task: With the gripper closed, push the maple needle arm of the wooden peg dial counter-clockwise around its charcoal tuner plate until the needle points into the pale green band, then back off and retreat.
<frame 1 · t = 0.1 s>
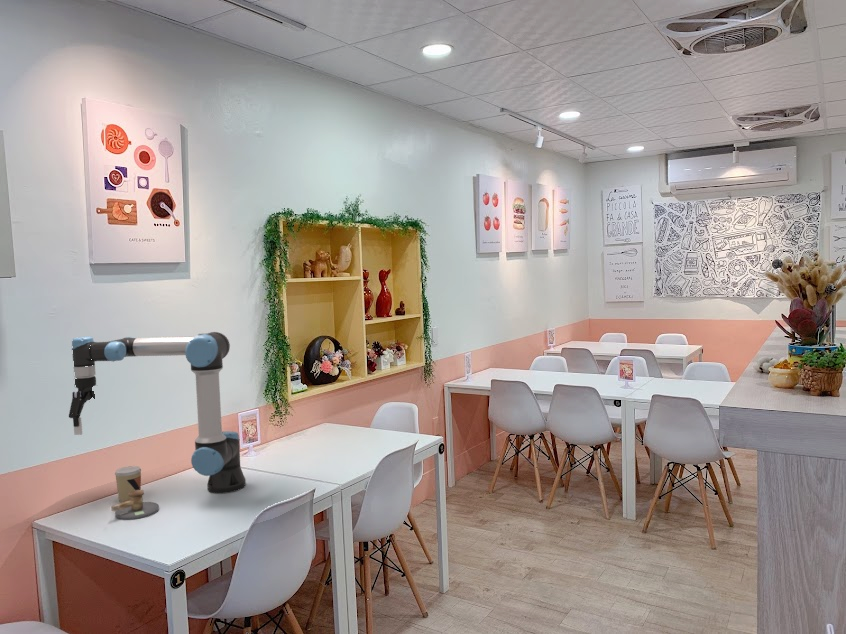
hand: (88, 430, 255), 28 cm above the table, fingers open, 13 cm apart
peg dial: (128, 503, 239), point 4 cm above the table, hinge at 58.0°
tuner plate: (137, 512, 242), on the table
coffee cup: (129, 499, 256), on the table
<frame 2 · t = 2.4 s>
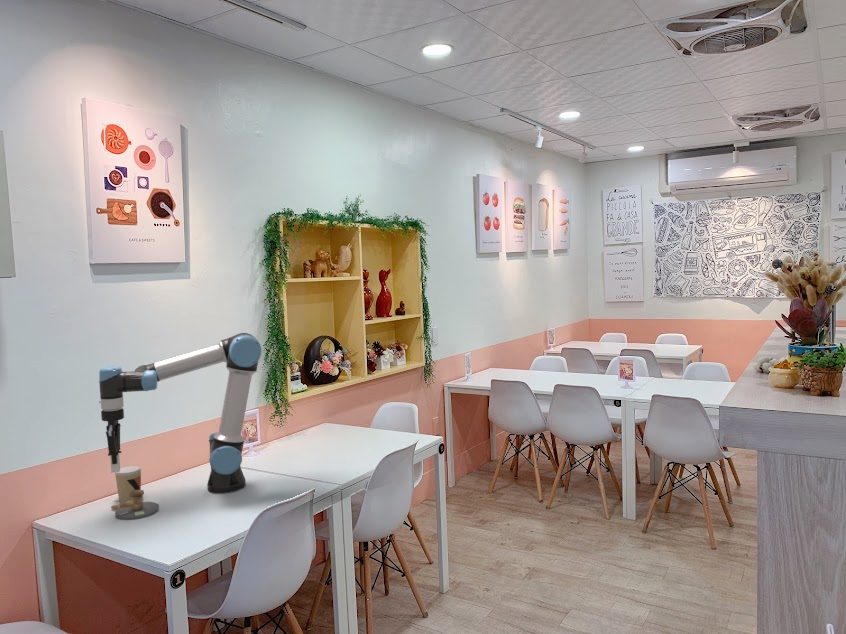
hand: (115, 471, 241), 16 cm above the table, fingers closed
nothing on the table moved.
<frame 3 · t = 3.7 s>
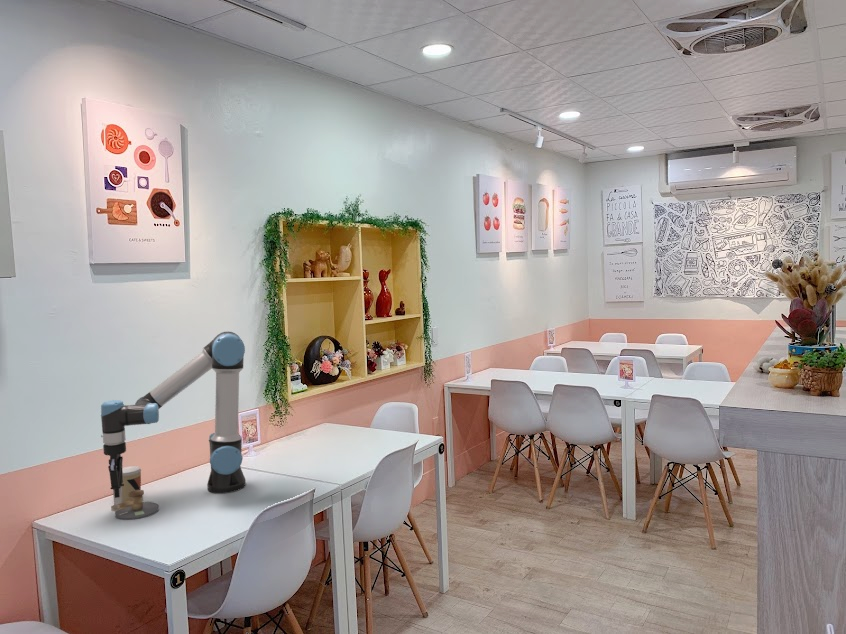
hand: (118, 504, 242), 3 cm above the table, fingers closed
nothing on the table moved.
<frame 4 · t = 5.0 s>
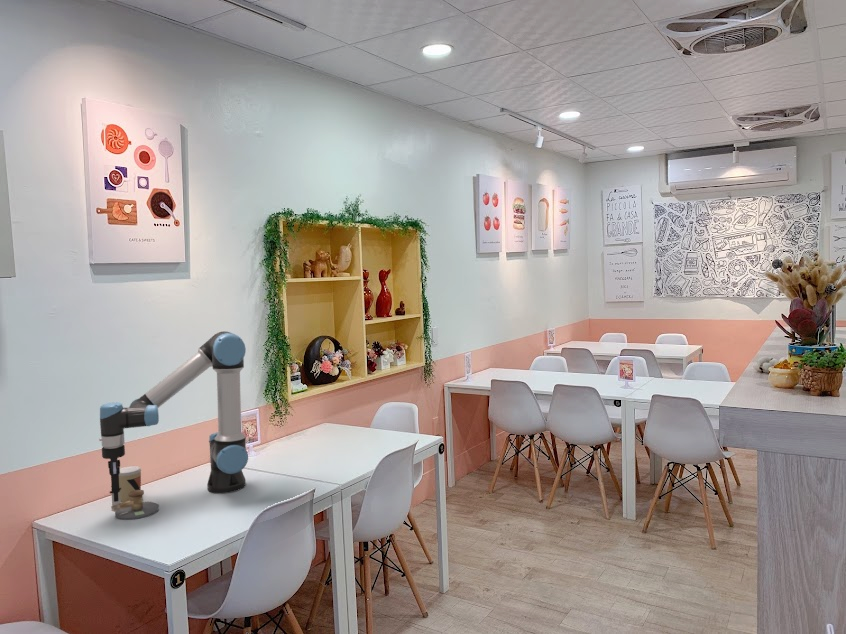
hand: (116, 509, 237), 3 cm above the table, fingers closed
peg dial: (128, 503, 239), point 4 cm above the table, hinge at 58.9°, touching gripper
everything else where it was.
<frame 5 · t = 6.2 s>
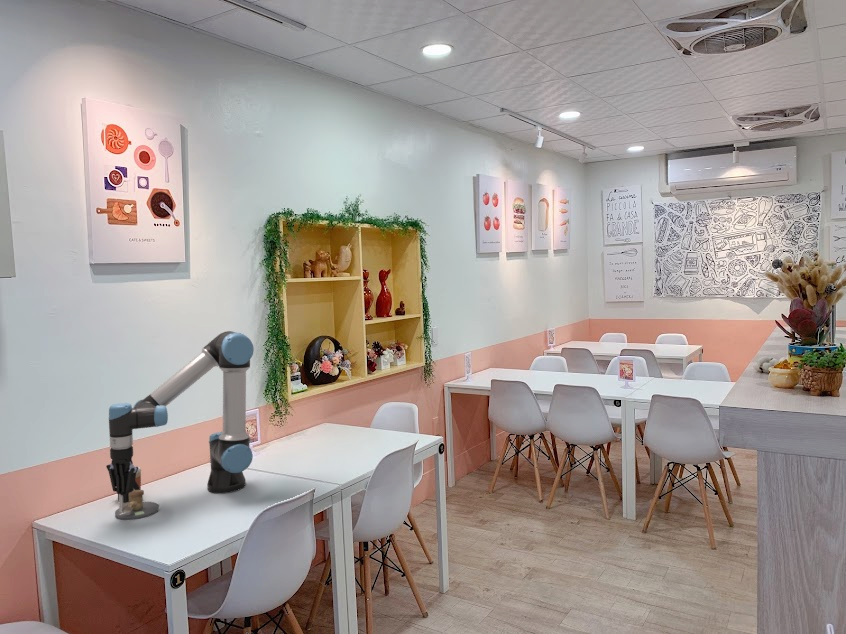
hand: (123, 511, 235), 3 cm above the table, fingers closed
peg dial: (133, 503, 238), point 4 cm above the table, hinge at 96.2°, touching gripper
everything else where it was.
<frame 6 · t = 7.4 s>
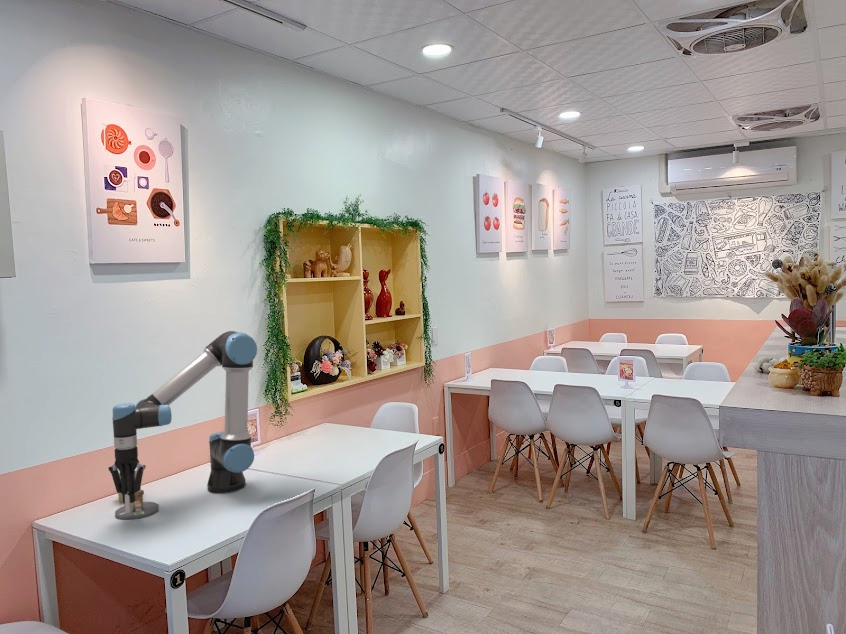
hand: (129, 511, 234), 3 cm above the table, fingers closed
peg dial: (137, 503, 239), point 4 cm above the table, hinge at 121.1°
everything else where it was.
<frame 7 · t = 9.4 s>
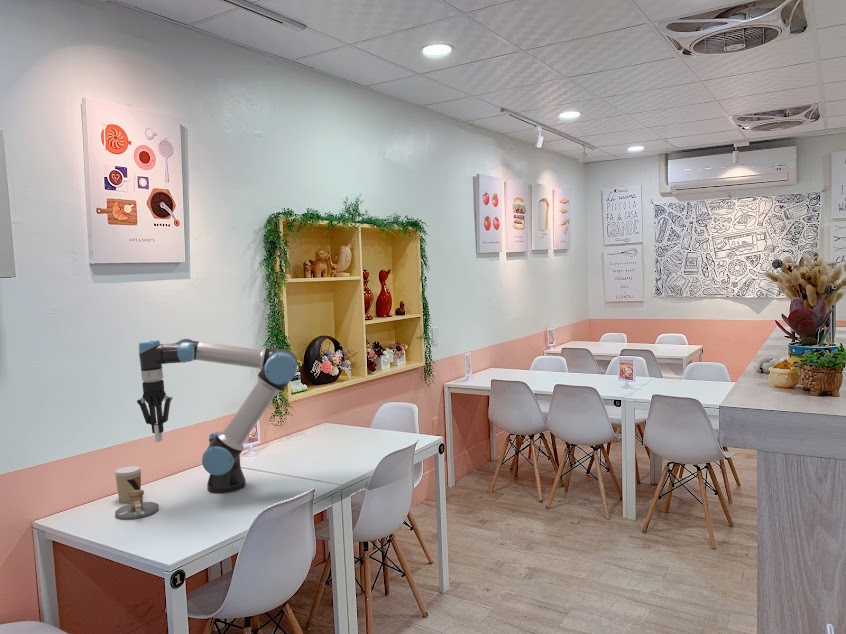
hand: (158, 441, 249), 24 cm above the table, fingers closed
nothing on the table moved.
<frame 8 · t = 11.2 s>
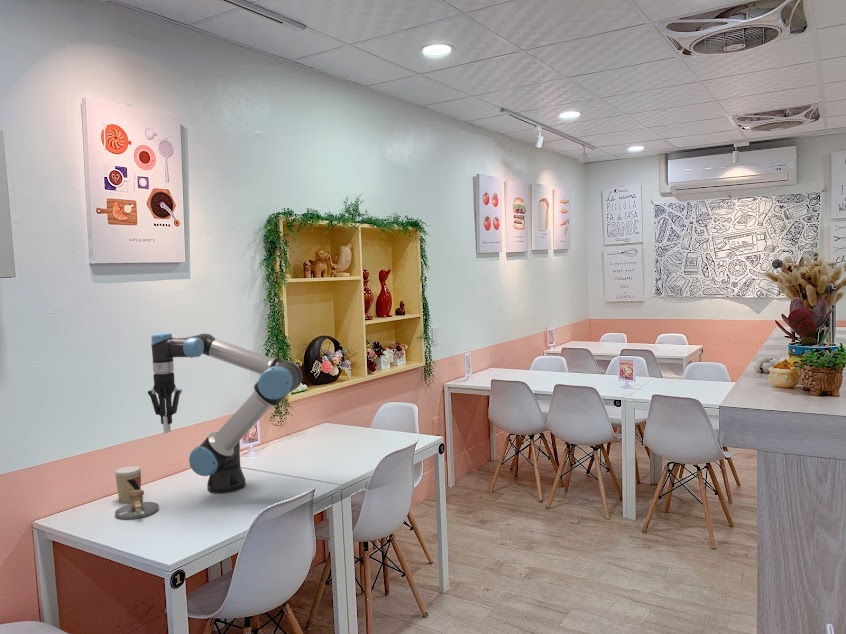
hand: (167, 432, 254), 26 cm above the table, fingers closed
nothing on the table moved.
at the end: peg dial at +121° (first picture: +58°); coffee cup moved 0.2 cm from its start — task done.
